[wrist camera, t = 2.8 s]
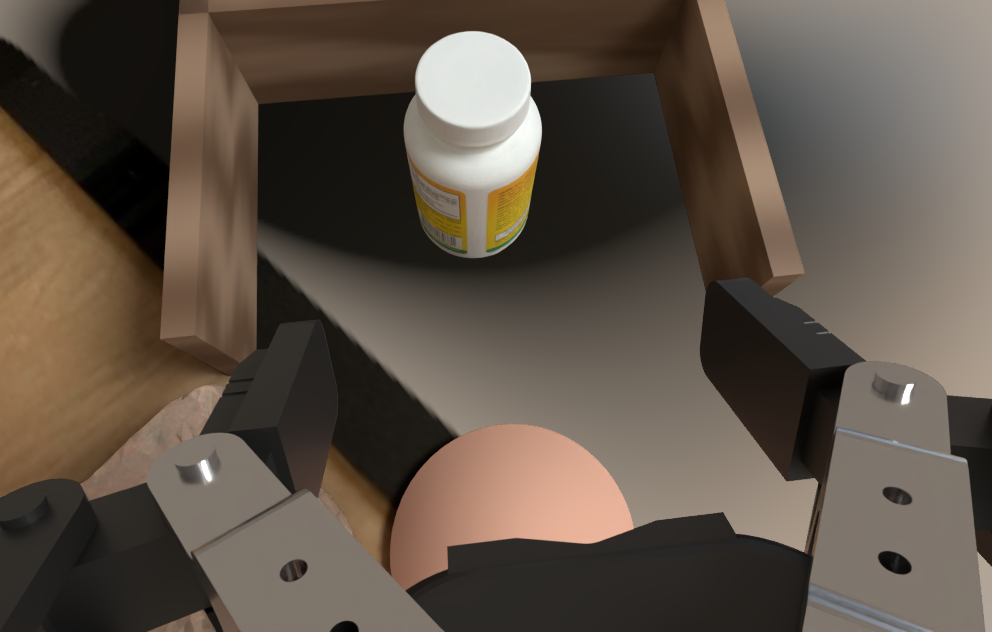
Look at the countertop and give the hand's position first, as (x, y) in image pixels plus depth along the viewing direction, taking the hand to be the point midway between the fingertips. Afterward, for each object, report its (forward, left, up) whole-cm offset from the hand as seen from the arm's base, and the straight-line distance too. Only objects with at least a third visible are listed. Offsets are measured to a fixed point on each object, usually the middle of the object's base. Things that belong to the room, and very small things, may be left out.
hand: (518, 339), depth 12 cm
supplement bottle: (-8, +8, -15) cm, 18 cm away
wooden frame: (-8, +8, -14) cm, 18 cm away
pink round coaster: (+3, -3, -14) cm, 15 cm away
